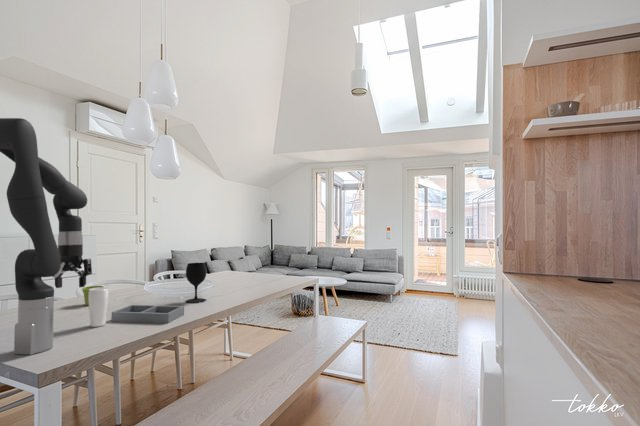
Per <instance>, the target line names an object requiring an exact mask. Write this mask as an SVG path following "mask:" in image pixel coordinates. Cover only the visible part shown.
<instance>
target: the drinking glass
mask: <svg viewBox="0 0 640 426" xmlns="http://www.w3.org/2000/svg"><path fill="white" fill-rule="evenodd" d="M108 301H109V288H108V287H106V286H103V287H98V288H92V289H89V306H88V310H89V311H88V312H89V321H90V322H89V323H90V324H89V326H90V327H92V328H99V327H103V326H105V325H106V323H107V322H106V321H107V319H106V318H107V310H108Z"/></svg>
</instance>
